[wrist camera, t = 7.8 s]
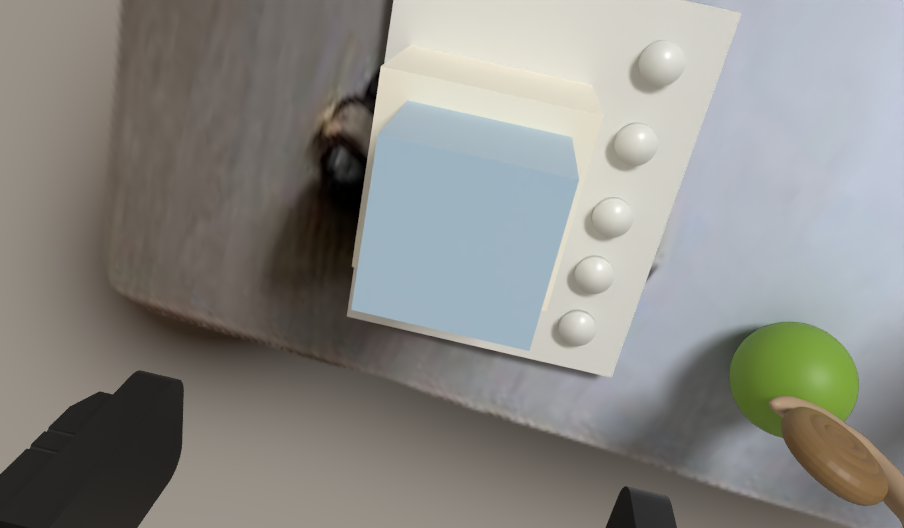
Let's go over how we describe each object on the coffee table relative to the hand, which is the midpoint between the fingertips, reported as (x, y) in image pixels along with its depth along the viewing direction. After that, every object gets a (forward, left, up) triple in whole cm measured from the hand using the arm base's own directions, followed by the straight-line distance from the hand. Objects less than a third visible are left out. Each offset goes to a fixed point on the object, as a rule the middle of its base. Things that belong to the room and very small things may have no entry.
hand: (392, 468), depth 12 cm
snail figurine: (+7, +17, -22) cm, 29 cm away
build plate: (+1, +2, -22) cm, 22 cm away
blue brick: (0, 0, -15) cm, 15 cm away
